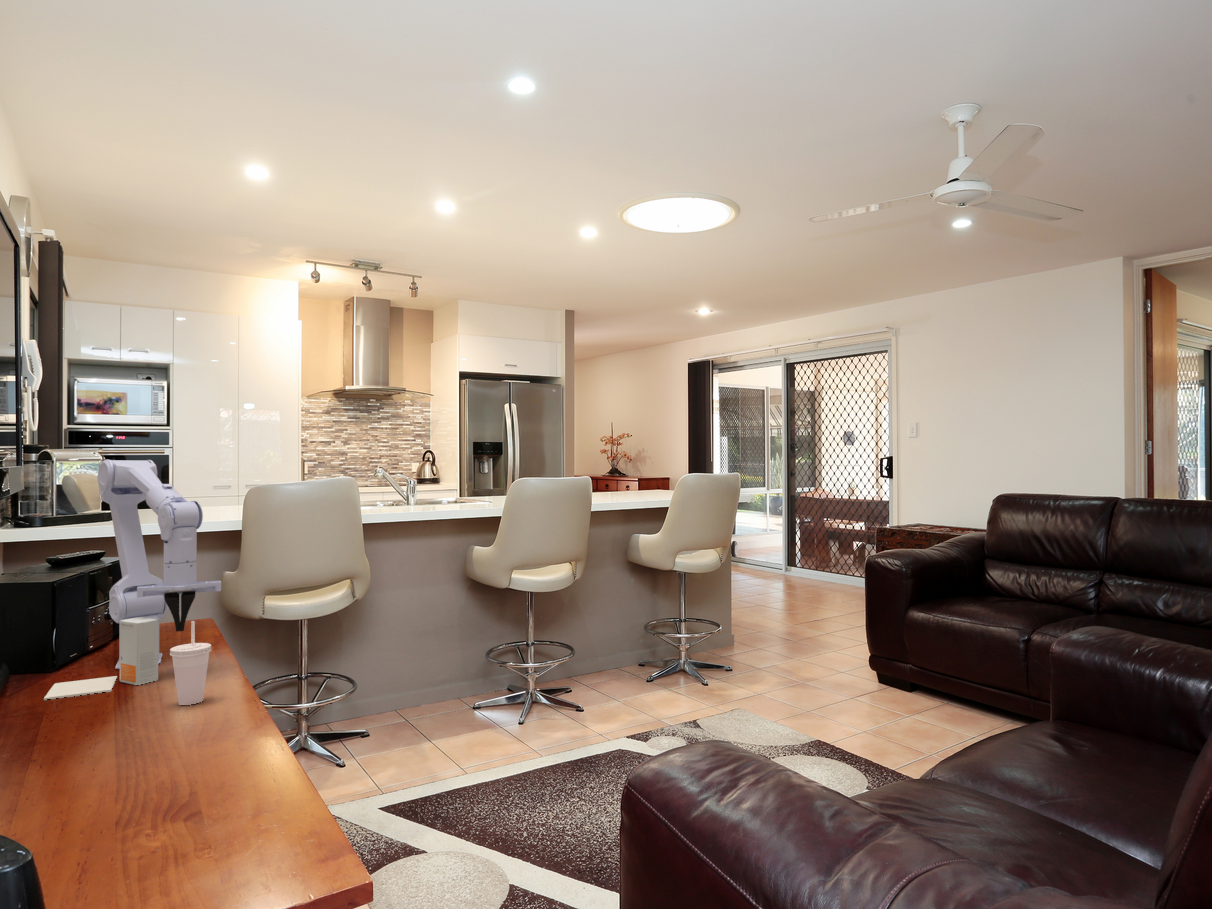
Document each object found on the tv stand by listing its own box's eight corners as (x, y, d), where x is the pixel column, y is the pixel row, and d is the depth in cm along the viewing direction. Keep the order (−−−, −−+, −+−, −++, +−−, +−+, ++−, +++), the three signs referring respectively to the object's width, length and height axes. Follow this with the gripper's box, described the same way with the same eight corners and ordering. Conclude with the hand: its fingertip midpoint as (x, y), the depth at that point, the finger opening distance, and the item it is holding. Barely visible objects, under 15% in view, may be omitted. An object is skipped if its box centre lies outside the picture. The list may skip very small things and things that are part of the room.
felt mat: (54, 685, 141) (54, 683, 141) (117, 677, 146) (117, 675, 146) (43, 700, 131) (43, 698, 131) (111, 691, 136) (111, 689, 136)
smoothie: (219, 697, 132) (219, 618, 132) (196, 708, 125) (196, 625, 126) (185, 696, 132) (185, 618, 133) (160, 708, 126) (160, 625, 126)
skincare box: (118, 682, 142) (118, 620, 143) (141, 677, 146) (141, 616, 147) (136, 686, 140) (137, 622, 140) (159, 680, 143) (159, 618, 144)
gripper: (135, 566, 141) (135, 638, 140) (221, 561, 148) (221, 629, 147) (138, 563, 147) (138, 631, 147) (220, 558, 154) (220, 623, 154)
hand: (180, 630), depth 147 cm, fingers closed
